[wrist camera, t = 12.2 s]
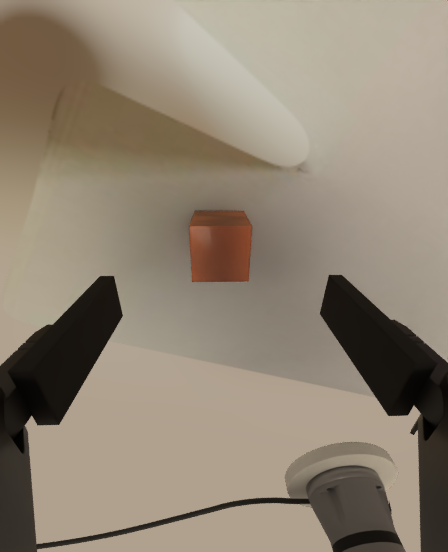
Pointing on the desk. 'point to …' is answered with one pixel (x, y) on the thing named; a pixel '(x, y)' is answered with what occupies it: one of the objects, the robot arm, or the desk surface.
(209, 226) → the block
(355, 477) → the robot arm
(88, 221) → the desk surface
